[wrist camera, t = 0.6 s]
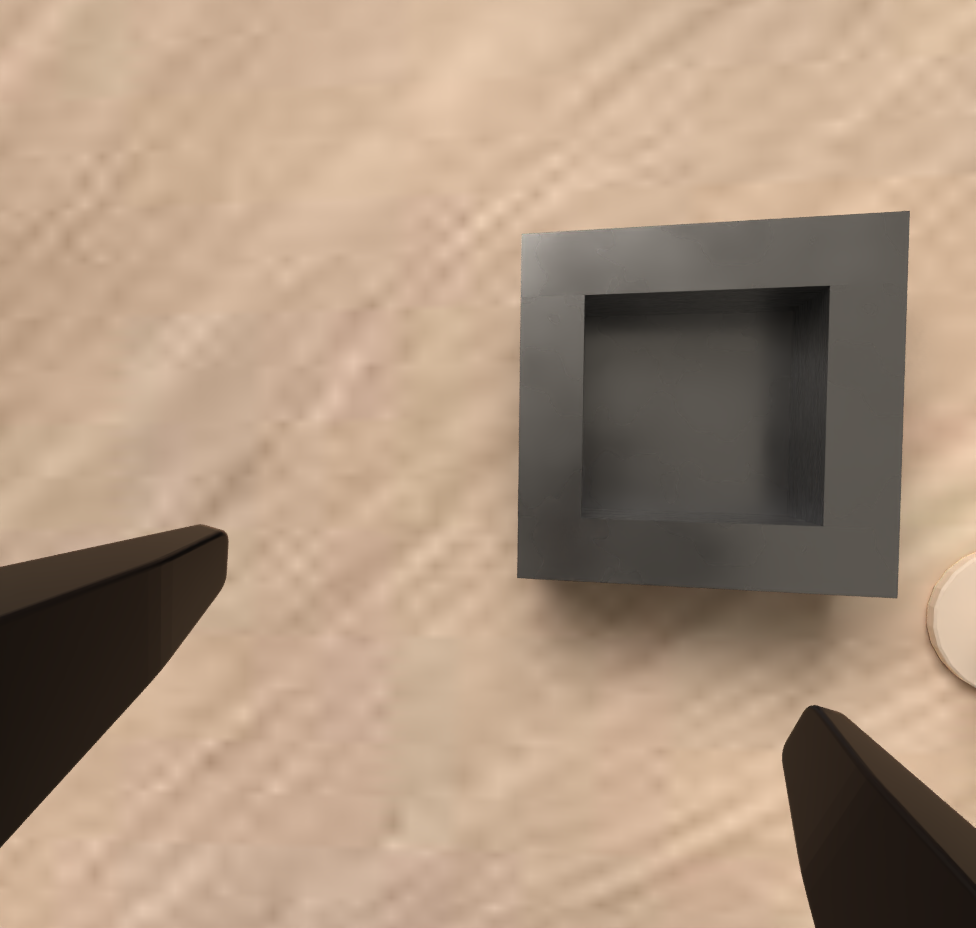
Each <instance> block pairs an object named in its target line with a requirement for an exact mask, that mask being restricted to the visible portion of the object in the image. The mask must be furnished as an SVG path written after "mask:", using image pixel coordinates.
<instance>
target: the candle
mask: <svg viewBox="0 0 976 928" xmlns="http://www.w3.org/2000/svg"><path fill="white" fill-rule="evenodd" d="M927 628H928V632H929V636H930V641H931V644H932V646H933V647H934V649H935V651H936V653H937V654H938V656H939V658H940V660H941V661H942V662H943V663H944V664H945V665H946V666H947V667H948V668H949V669H950V670H951V671H952V672H953V673H954V674H955V675H956V676H957V677H958V678H960V679H962V680H963V681H965V682H967V683H968V684H970V685H972V686H973V687H975V688H976V552H974V553H972V554H970V555H968V556H965V557H963V558H962V559H960V560H959V561H958V562H957V563H955V564H954V565H953V566H951V567H950V568H949V569H948V570H946V572H945V573H944V574H943V576H942V577H941V578H940V580H939V581H938V582H937V584H936V585H935V586H934V589H933V592H932V594H931V597H930V600H929V602H928V607H927Z"/></svg>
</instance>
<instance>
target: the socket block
mask: <svg viewBox="0 0 976 928" xmlns="http://www.w3.org/2000/svg"><path fill="white" fill-rule="evenodd" d="M909 218H910V211H901V212H884V213H867V214H850V215H833V216H816V217H799V218H782V219H766V220H749V221H732V222H715V223H698V224H681V225H664V226H647V227H630V228H614V229H597V230H580V231H563V232H546V233H529V234H522V249H521V327H520V405H519V484H518V562H517V578H526V579H545V580H564V581H582V582H601V583H620V584H639V585H657V586H676V587H695V588H713V589H732V590H751V591H770V592H788V593H807V594H826V595H844V596H863V597H882V598H897V595H898V563H899V532H900V501H901V469H902V438H903V406H904V375H905V344H906V312H907V281H908V249H909Z"/></svg>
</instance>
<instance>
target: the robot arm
mask: <svg viewBox="0 0 976 928" xmlns="http://www.w3.org/2000/svg"><path fill="white" fill-rule="evenodd" d="M227 559H228V535H227V534H226V532H225V531H223V530H220V529H217V528H213V527H210V526H207V525H201V524H199V525H194V526H189V527H185V528H180V529H175V530H171V531H166V532H161V533H157V534H152V535H147V536H143V537H138V538H133V539H129V540H124V541H119V542H115V543H110V544H105V545H101V546H96V547H91V548H87V549H82V550H77V551H72V552H68V553H63V554H58V555H54V556H49V557H44V558H40V559H35V560H30V561H26V562H21V563H16V564H12V565H7V566H2V567H0V848H1V846H2V845H3V844H4V843H5V842H6V841H7V840H8V839H9V838H10V837H11V835H12V834H13V833H14V832H15V831H16V830H17V829H18V828H19V827H20V826H21V825H22V823H23V822H24V821H25V820H26V819H27V818H28V817H29V816H30V815H31V814H32V812H33V811H34V810H35V809H36V808H37V807H38V806H39V805H40V804H41V803H42V801H43V800H44V799H45V798H46V797H47V796H48V795H49V794H50V793H51V792H52V790H53V789H54V788H55V787H56V786H57V785H58V784H59V783H60V782H61V781H62V779H63V778H64V777H65V776H66V775H67V774H68V773H69V772H70V771H71V770H72V768H73V767H74V766H75V765H76V764H77V763H78V762H79V761H80V760H81V759H82V757H83V756H84V755H85V754H86V753H87V752H88V751H89V750H90V749H91V748H92V746H93V745H94V744H95V743H96V742H97V741H98V740H99V739H100V738H101V737H102V735H103V734H104V733H105V732H106V731H107V730H108V729H109V728H110V727H111V726H112V724H113V723H114V722H115V721H116V720H117V719H118V718H119V717H120V716H121V715H122V713H123V712H124V711H125V710H126V709H127V708H128V707H129V706H130V705H131V704H132V702H133V701H134V700H135V699H136V698H137V697H138V696H139V695H140V694H141V693H142V692H143V690H144V689H145V688H146V687H147V686H148V685H149V684H150V683H151V681H152V680H153V679H154V678H155V677H156V676H157V675H158V673H159V672H160V671H161V670H162V669H163V667H164V666H165V665H166V664H167V662H168V661H169V660H170V658H171V657H172V656H173V655H174V653H175V652H176V650H177V649H178V648H179V646H180V645H181V644H182V642H183V641H184V640H185V638H186V637H187V636H188V634H189V633H190V632H191V630H192V629H193V628H194V626H195V625H196V623H197V622H198V621H199V619H200V618H201V617H202V615H203V614H204V613H205V611H206V610H207V609H208V607H209V606H210V605H211V603H212V602H213V601H214V599H215V598H216V597H217V595H218V594H219V592H220V591H221V589H222V587H223V585H224V583H225V580H226V575H227ZM782 763H783V770H784V776H785V782H786V788H787V794H788V800H789V806H790V812H791V818H792V824H793V830H794V836H795V842H796V848H797V854H798V859H799V864H800V869H801V874H802V878H803V882H804V886H805V890H806V895H807V898H808V902H809V906H810V910H811V913H812V917H813V921H814V925H815V928H976V828H975V827H974V826H972V825H971V824H970V823H969V822H968V821H967V820H965V819H964V818H963V817H962V816H961V815H960V814H958V813H957V812H956V811H955V810H954V809H953V808H952V807H950V806H949V805H948V804H947V803H946V802H945V801H943V800H942V799H941V798H940V797H939V796H938V795H936V794H935V793H934V792H933V791H932V790H931V789H930V788H928V787H927V786H926V785H925V784H924V783H923V782H921V781H920V780H919V779H918V778H917V777H916V776H914V775H913V774H912V773H911V772H910V771H909V770H908V769H906V768H905V767H904V766H903V765H902V764H901V763H899V762H898V761H897V760H896V759H895V758H894V757H892V756H891V755H890V754H889V753H888V752H887V751H886V750H884V749H883V748H882V747H881V746H880V745H879V744H877V743H876V742H875V741H874V740H873V739H872V738H870V737H869V736H868V735H867V734H866V733H865V732H864V731H862V730H861V729H860V728H859V727H858V726H857V725H855V724H854V723H853V722H852V721H851V720H850V719H848V718H847V717H846V716H845V715H843V714H842V713H840V712H837V711H834V710H830V709H827V708H823V707H820V706H817V705H813V706H809V707H808V708H806V709H805V710H804V712H803V713H802V715H801V717H800V719H799V720H798V722H797V724H796V725H795V727H794V729H793V731H792V732H791V734H790V736H789V737H788V739H787V741H786V743H785V745H784V748H783V753H782Z"/></svg>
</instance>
